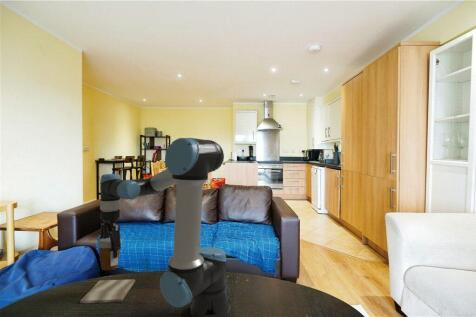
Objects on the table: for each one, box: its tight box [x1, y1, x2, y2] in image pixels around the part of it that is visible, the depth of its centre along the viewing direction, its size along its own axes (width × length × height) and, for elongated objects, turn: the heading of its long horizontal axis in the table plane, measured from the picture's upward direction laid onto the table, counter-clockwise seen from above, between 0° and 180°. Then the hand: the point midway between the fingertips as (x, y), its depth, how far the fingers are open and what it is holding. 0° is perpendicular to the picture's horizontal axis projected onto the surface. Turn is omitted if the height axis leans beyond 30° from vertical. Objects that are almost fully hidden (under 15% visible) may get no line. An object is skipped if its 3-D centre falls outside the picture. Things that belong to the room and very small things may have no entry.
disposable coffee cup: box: [97, 236, 123, 271], centre depth 105 cm, size 10×10×12 cm
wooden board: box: [79, 278, 136, 304], centre depth 105 cm, size 16×16×1 cm
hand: (109, 261), depth 105 cm, fingers closed on disposable coffee cup, 8 cm apart
